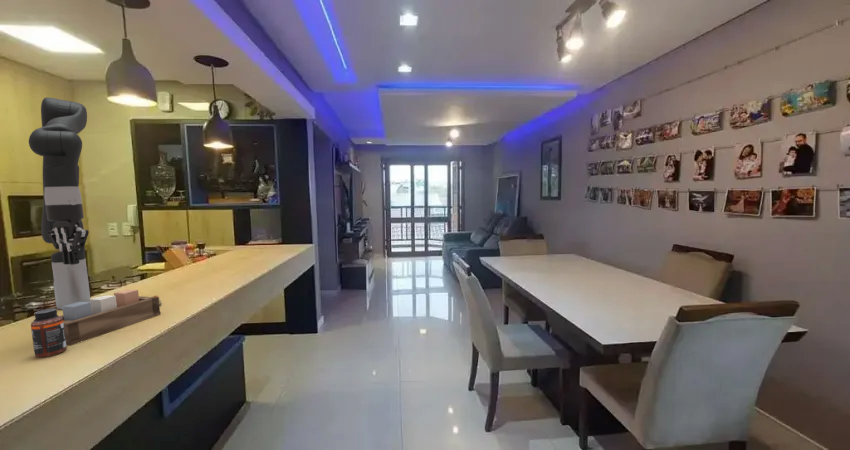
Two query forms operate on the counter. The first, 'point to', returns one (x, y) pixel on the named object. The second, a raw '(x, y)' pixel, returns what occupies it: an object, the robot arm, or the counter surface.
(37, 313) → the supplement bottle
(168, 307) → the counter surface
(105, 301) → the white block
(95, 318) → the brown wooden tray
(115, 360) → the counter surface
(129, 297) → the pink block
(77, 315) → the slate key
